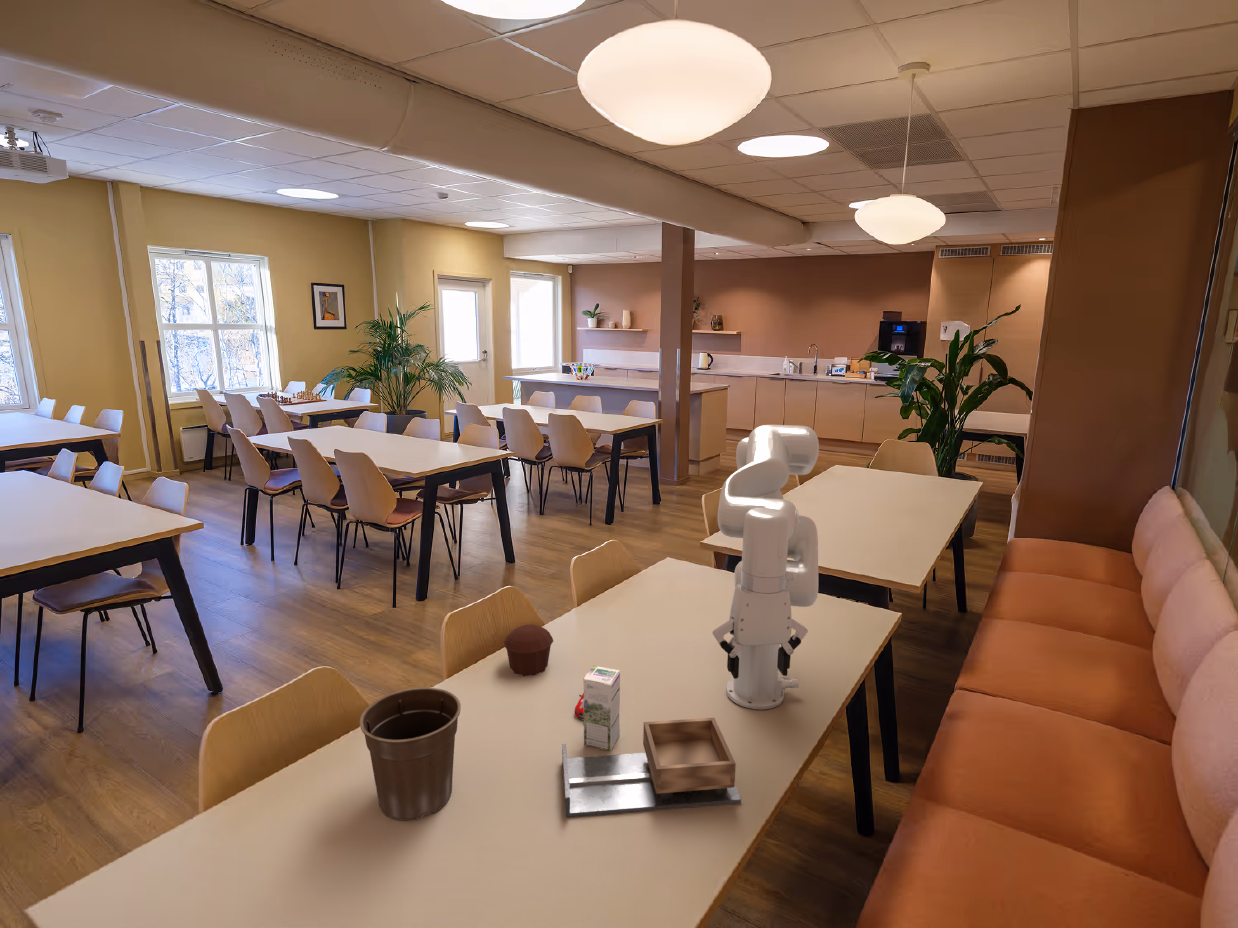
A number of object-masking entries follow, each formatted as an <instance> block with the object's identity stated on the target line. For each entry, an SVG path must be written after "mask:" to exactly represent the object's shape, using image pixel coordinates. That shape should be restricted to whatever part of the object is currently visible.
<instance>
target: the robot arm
mask: <svg viewBox="0 0 1238 928" xmlns="http://www.w3.org/2000/svg"><path fill="white" fill-rule="evenodd" d="M819 452H820V444H819V438H818V436H817V433H816V431H815V430H814V429H813V428H811V427H810V426H806V425H791V424H790V425H789V424H786V425H785V424H763V425H760V426H757V427H756V428H754V429H753V430H752V431H751V432H750V433H749V435H748V437H745V438H742V439H741V440H740V441H739V442H738V444H737V446H736V453H735V456H736V457H735V461H736V467H737V470H736V471H734V472H733V473H732V474H731V475H730V476H729V477H728V478H726V480H725V481H724V483H723V485H722V486H721V487H722V488H721V489H720V493H719V494H720V495H719V501H718V506H717V507H718V510H717V525H718V528H719V531H720V532H721V533H722V534H723V535H725V536H726V537H729V538H738V539H742V550H741V551H742V554H741V556H742V557H741V561H739V562H738V564H737V565H736V566H735V569H734V574H733V580H734V583H733V584H734V591H733V594H732V595H733V596H732V600H731V604H730V605H731V606H730V612H729V619H728V621H725V623H723V624H721V625H720V626H718V627H717V628H715V629H713V630H712V635H713V638H715V640H716V641H717V644H719V646H720V648H721V649H723V651H725V652H726V653H727V660H726V661H727V663H726V667H727V672H729V673H730V674H731V676H732V677H733V678H731V679H730V680H729V681H728V682H727V683H726V686H725V693H726V695H727V697H728V698H729V700H731V701H732V702H733V703H735V704H737V705H739V706H741V707H744V708H746V709H752V710H769V709H773V708H775V707H778V706H780V704H782V702H783V701H784V700H785V699H784V695H785V693H784V691H785V690H786V689H796V688H797V689H798V688H799V686H800V683H799V680H798V678H790V677H789V675H788V672H789V671H788V670H789V669H790V668H791V655H793V654H794V652H795V649H797V648H798V647H799V646H800V645H801V644H802V640H803V639H804V638H805V636H807V634H808V631H809V630H808V628H806V626H805V625H803V624H801V623H799V622H798V621H796V620H795V619H793V618H792V607H798V608H799V607H801V608H807V607H811V606H813V605H814V604H815V603H816V601H817V599H818V595H819V536H818V529H817V525H816V523H815V522H814V520H813V519H812V518H810V517H808V516H805V515H799V514H800V513H799V511H798V509H797V507H796V505H795V504H794V503H793V502H792V501H790V500H787V499H784V496H783V493H782V491H781V489H783V488H784V486H786V484H787V483H788V481H789V477H790V475H797V476H799V475H800V476H804V475H805V476H806V475H808V474H810V473H811V472H812V470H813V469H814V467H815V465H816V463H817V461H818V458H819V455H820V454H819ZM789 559H793V560H789ZM792 630H795V632H794V634H792ZM727 634H730V635H731V636H732V637H731V638H730V640H729V641H727V640H726V639H725V638H724V637H725V635H727ZM779 672H780V674H781V675H779Z"/></svg>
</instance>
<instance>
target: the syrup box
mask: <svg viewBox="0 0 1238 928" xmlns="http://www.w3.org/2000/svg"><path fill="white" fill-rule="evenodd" d="M583 693H584V720H583V745H584V746H587V747H591V748H594V749H595V748H596V749H600V750H604V751H609V752H610V751H611V750H612V749H613V748H614V745H615V744H616V742H617V740H618V739H619V737H620V734H621V733H620V731H621V730H620V729H621V728H620V726H621V725H620V711H621V709H620V702H621V701H620V700H621V699H620V698H621V671H620V670H619V669H613V668H609V667H602V666H597V665H593V666H592V667H591V668H590V669H589V671H588V672H587V673H586V674H585V676H584V678H583Z"/></svg>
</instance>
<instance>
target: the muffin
mask: <svg viewBox="0 0 1238 928" xmlns="http://www.w3.org/2000/svg"><path fill="white" fill-rule="evenodd" d="M553 643H554V638H553V636H552V635H551V633H550V631H548V629H546V628H545V627H542V626H541V625H538V624H530V623H529V624H523V625H521V626H518V627H516V628H514V629H513V630H511V632H509V634H508V635H507V636H506V638H505V640H504V641H503V644H504V648H505V649H506V653H507V658H508V665H509V668H510V669H511V671H512V673H513V674H514V675H519V676H522V677H528V676H529V677H530V676H537V675H539V674H541V673H543V672H545V671H546V668H547V667H548V665H549V660H550V659H549V658H550V653H551V646H552V644H553Z"/></svg>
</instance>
